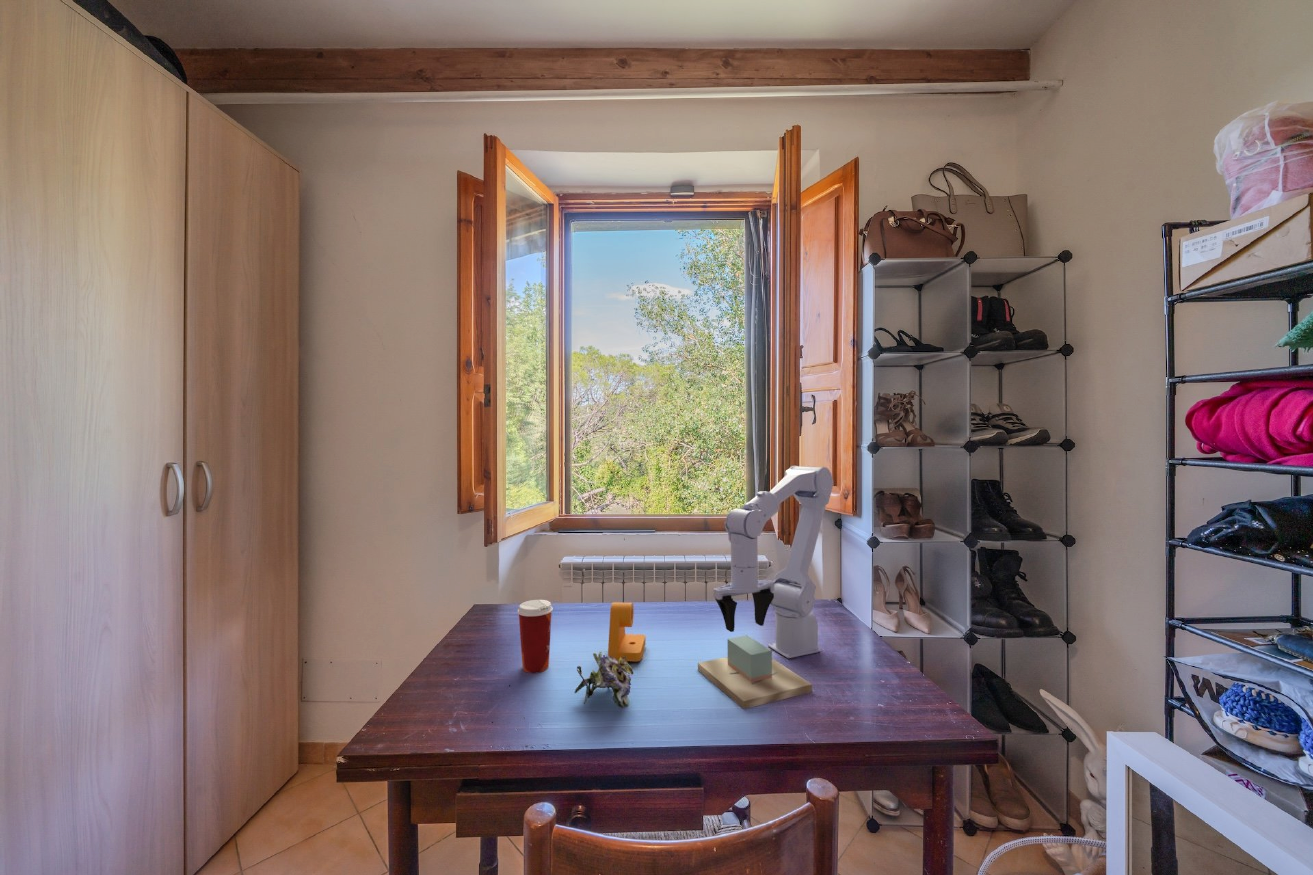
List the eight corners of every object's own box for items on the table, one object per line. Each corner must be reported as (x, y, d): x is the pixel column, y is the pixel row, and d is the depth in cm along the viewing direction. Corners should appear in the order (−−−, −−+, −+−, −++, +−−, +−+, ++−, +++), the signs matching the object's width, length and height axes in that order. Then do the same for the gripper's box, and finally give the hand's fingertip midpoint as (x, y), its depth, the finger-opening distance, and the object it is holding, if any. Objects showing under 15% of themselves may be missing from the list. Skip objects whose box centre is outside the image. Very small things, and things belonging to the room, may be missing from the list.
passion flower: (624, 732, 100) (635, 699, 93) (567, 726, 99) (574, 692, 92) (627, 677, 109) (638, 643, 103) (575, 670, 108) (583, 635, 102)
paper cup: (560, 666, 117) (559, 603, 116) (530, 678, 111) (530, 612, 111) (539, 656, 122) (539, 596, 122) (510, 667, 116) (510, 604, 116)
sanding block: (747, 660, 116) (747, 635, 116) (771, 677, 107) (771, 650, 107) (727, 664, 114) (727, 638, 114) (751, 682, 105) (751, 654, 105)
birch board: (759, 656, 121) (759, 650, 121) (812, 691, 105) (812, 684, 105) (697, 669, 115) (697, 662, 115) (743, 709, 98) (743, 701, 98)
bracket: (640, 665, 117) (639, 611, 117) (608, 663, 118) (607, 610, 118) (646, 645, 128) (645, 596, 128) (616, 644, 129) (616, 595, 129)
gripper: (760, 557, 121) (761, 616, 121) (705, 564, 115) (706, 626, 115) (780, 563, 114) (780, 626, 115) (723, 572, 108) (723, 637, 108)
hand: (744, 627), depth 114 cm, fingers open, 7 cm apart
